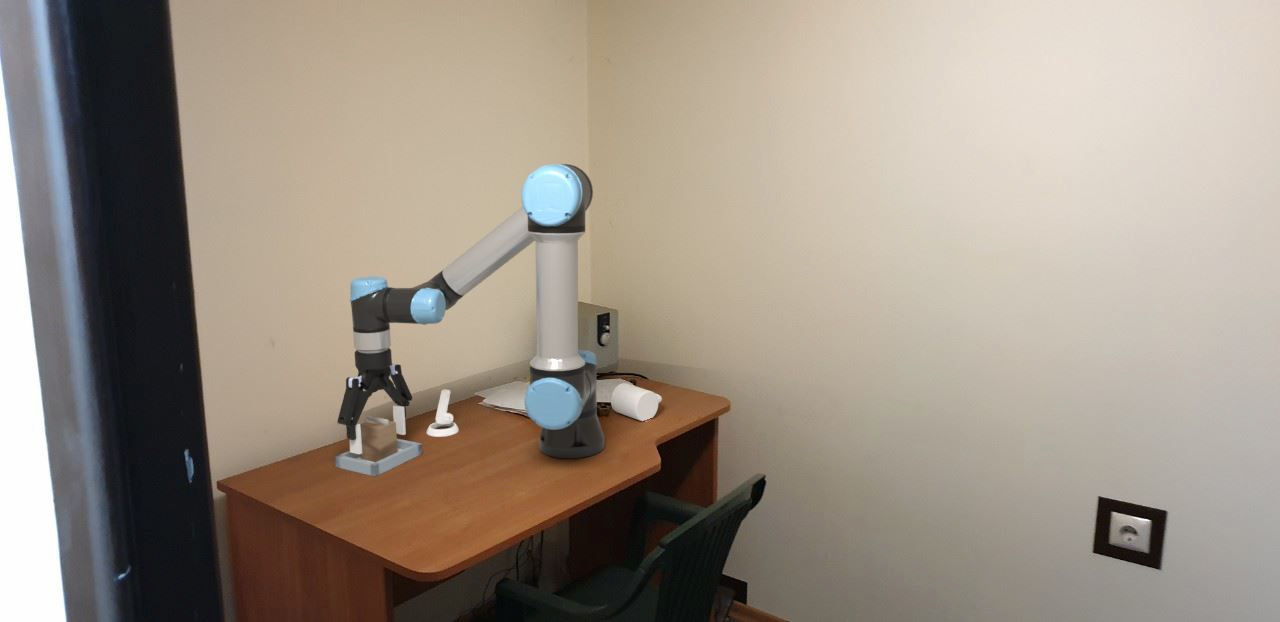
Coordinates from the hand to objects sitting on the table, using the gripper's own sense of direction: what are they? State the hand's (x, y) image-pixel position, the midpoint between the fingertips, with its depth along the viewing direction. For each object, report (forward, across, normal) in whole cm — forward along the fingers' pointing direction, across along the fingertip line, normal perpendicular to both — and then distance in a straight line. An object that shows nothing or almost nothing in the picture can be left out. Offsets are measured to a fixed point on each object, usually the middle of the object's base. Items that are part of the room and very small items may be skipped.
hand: (378, 443), depth 170 cm
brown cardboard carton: (+3, 0, 0) cm, 3 cm away
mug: (+4, -54, +38) cm, 66 cm away
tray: (+4, 0, 0) cm, 4 cm away
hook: (+4, -21, 0) cm, 21 cm away
